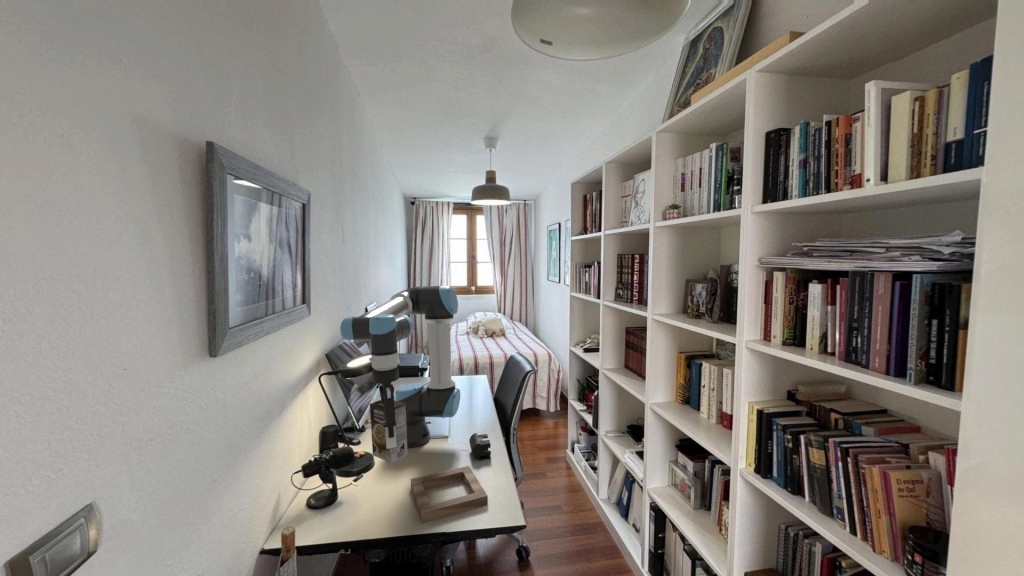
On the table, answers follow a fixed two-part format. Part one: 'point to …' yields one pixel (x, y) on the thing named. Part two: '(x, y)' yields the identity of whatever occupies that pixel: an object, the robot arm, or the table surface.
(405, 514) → the table surface
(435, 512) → the walnut hole plate
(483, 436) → the end cap
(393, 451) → the coffee box
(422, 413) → the robot arm
